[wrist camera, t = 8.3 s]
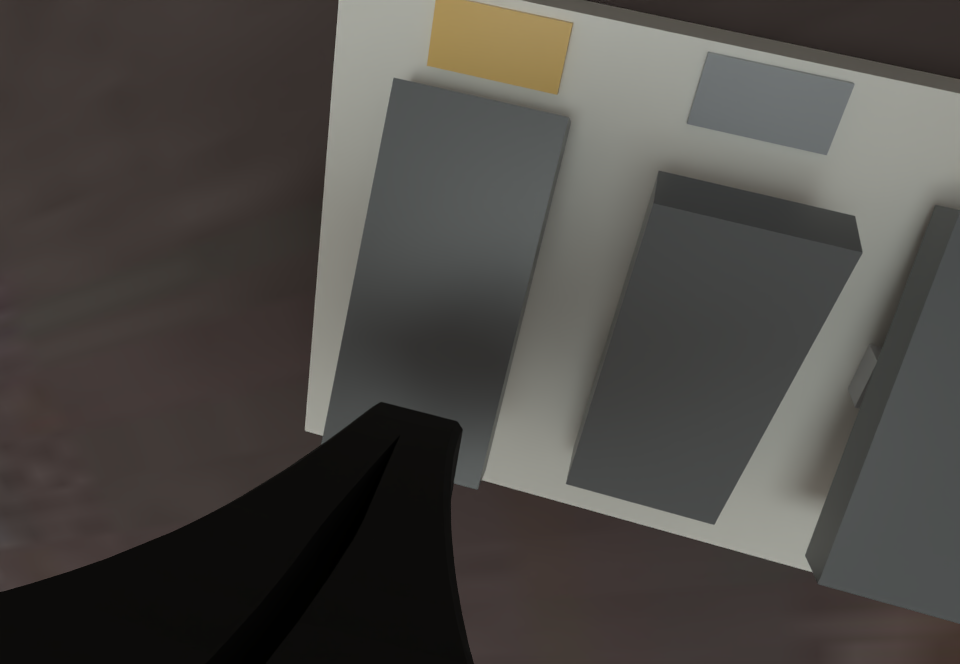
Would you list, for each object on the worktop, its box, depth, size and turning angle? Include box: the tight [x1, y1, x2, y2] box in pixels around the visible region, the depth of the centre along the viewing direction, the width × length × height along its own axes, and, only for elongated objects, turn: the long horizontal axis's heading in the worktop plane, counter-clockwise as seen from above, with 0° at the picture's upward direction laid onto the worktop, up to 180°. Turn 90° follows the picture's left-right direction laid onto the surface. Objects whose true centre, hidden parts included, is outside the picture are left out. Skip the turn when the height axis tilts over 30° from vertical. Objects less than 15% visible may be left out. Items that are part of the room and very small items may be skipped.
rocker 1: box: [321, 78, 571, 490], centre depth 17 cm, size 4×8×1 cm, turn 170°
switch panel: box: [305, 0, 960, 572], centre depth 19 cm, size 18×12×3 cm, turn 80°
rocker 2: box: [566, 171, 863, 525], centre depth 17 cm, size 4×8×1 cm, turn 170°
